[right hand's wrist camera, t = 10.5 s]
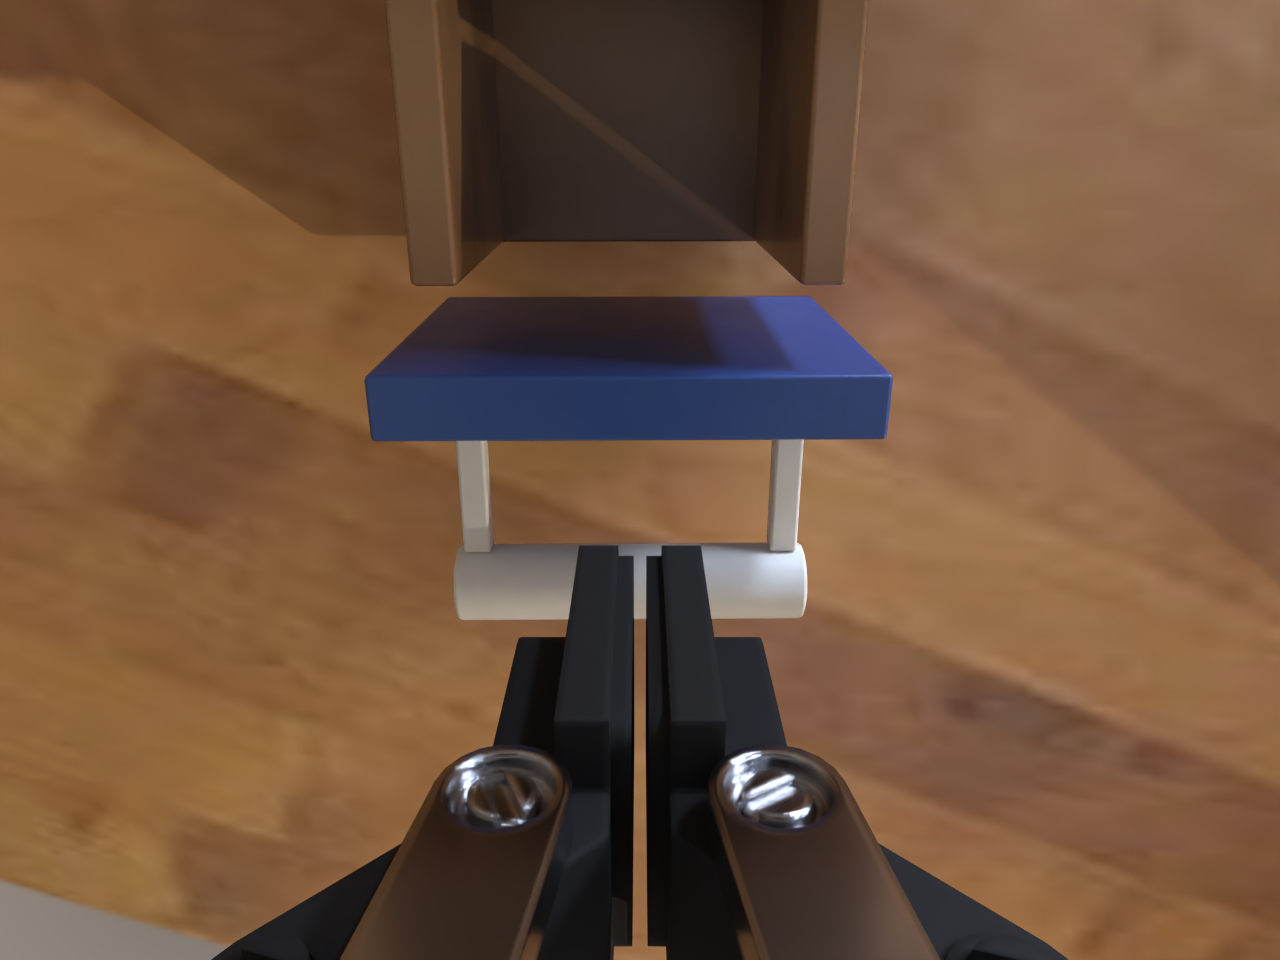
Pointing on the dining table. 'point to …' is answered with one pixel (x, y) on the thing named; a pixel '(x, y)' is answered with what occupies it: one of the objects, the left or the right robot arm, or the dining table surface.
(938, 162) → the dining table surface
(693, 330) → the drawer
